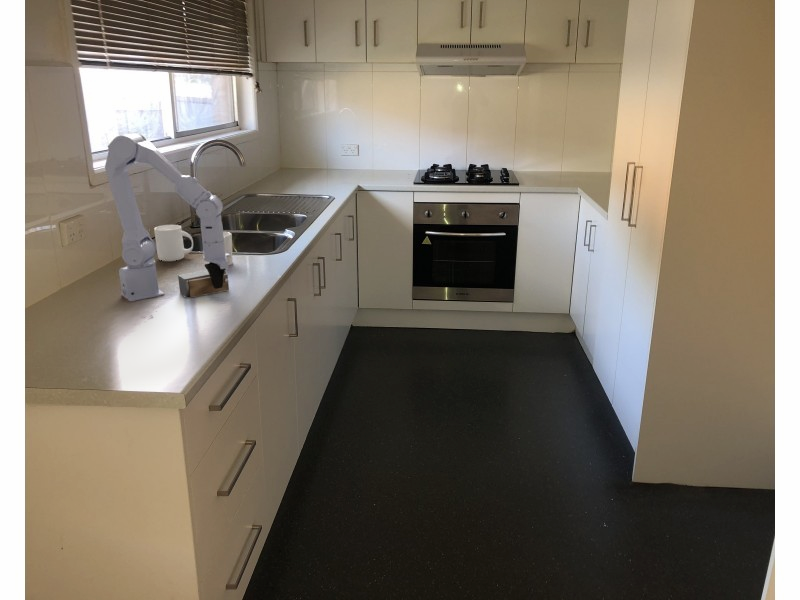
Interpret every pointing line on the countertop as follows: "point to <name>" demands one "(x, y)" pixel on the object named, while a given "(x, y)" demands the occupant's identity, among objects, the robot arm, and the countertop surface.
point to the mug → (171, 242)
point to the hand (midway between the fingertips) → (218, 287)
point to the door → (204, 286)
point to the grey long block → (190, 276)
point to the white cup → (228, 246)
